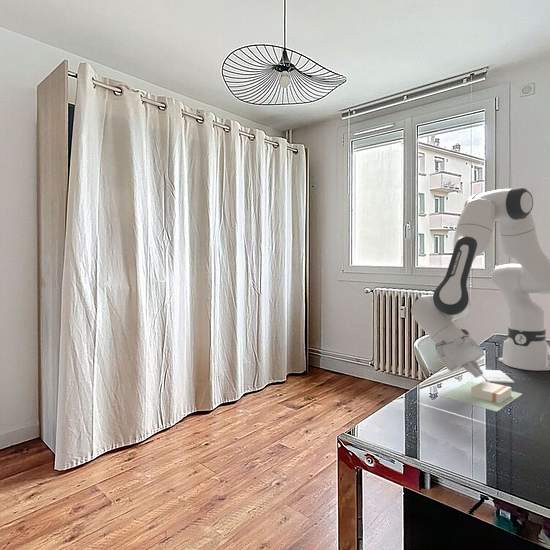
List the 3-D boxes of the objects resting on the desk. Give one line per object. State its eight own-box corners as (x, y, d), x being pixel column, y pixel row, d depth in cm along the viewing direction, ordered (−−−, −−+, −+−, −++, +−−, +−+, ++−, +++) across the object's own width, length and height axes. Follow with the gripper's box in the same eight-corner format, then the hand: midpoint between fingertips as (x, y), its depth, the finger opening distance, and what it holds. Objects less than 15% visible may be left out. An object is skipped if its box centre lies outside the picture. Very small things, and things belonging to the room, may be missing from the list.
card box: (483, 380, 124) (511, 387, 118) (483, 389, 124) (511, 395, 118) (471, 387, 118) (499, 394, 112) (471, 396, 119) (499, 403, 112)
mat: (469, 382, 132) (469, 381, 132) (522, 394, 120) (522, 393, 120) (440, 397, 119) (440, 395, 119) (497, 412, 107) (497, 411, 107)
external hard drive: (501, 374, 142) (515, 386, 130) (476, 373, 143) (488, 384, 131) (501, 370, 142) (515, 381, 130) (476, 369, 143) (488, 380, 131)
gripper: (439, 338, 119) (472, 377, 112) (469, 329, 132) (500, 363, 125) (425, 350, 123) (457, 389, 116) (456, 340, 136) (485, 374, 129)
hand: (479, 375), depth 121 cm, fingers closed
